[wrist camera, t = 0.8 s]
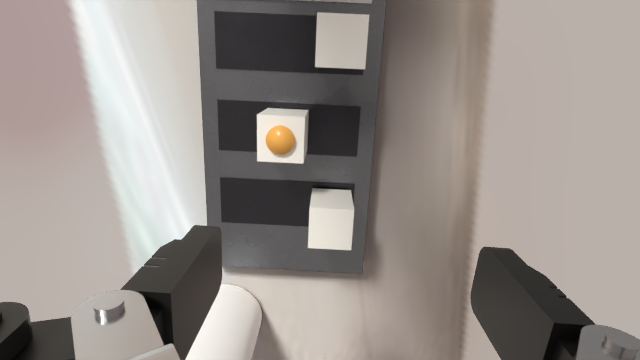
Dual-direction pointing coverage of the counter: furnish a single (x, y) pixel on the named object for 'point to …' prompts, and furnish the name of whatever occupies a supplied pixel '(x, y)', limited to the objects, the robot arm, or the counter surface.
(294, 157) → the block
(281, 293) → the counter surface
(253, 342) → the can
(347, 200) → the block
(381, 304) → the counter surface
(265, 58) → the panel
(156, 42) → the counter surface
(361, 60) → the block
